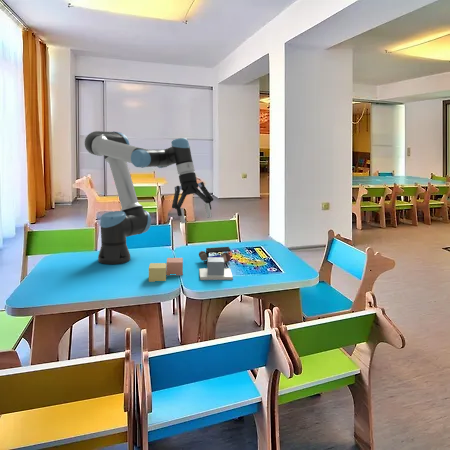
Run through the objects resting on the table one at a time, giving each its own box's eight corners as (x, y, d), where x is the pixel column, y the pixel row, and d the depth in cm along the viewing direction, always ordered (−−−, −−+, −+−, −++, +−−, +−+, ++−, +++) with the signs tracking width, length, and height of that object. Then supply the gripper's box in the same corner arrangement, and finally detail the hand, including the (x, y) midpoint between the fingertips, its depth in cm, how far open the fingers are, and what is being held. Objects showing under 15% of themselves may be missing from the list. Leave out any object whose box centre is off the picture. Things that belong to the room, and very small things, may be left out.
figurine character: (201, 268, 194) (232, 263, 196) (199, 252, 192) (230, 248, 194) (199, 263, 200) (229, 259, 203) (197, 249, 199) (228, 245, 201)
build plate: (200, 279, 173) (200, 277, 173) (199, 271, 185) (199, 268, 184) (232, 279, 174) (232, 276, 174) (229, 270, 186) (229, 268, 186)
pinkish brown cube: (166, 275, 178) (166, 262, 177) (167, 270, 185) (167, 257, 184) (182, 275, 179) (182, 262, 177) (182, 270, 185) (182, 257, 184)
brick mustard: (148, 281, 170) (148, 268, 168) (150, 276, 176) (150, 263, 175) (165, 281, 170) (165, 268, 169) (166, 276, 177) (166, 263, 176)
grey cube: (208, 275, 176) (208, 261, 174) (207, 270, 182) (207, 257, 181) (224, 275, 176) (224, 261, 175) (222, 270, 183) (223, 257, 182)
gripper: (165, 175, 170) (175, 224, 170) (214, 168, 183) (224, 214, 184) (157, 178, 176) (168, 226, 177) (206, 171, 190) (215, 216, 190)
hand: (196, 220), depth 180 cm, fingers open, 13 cm apart
